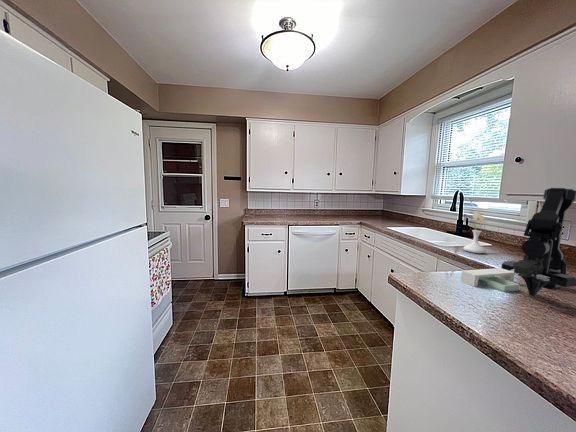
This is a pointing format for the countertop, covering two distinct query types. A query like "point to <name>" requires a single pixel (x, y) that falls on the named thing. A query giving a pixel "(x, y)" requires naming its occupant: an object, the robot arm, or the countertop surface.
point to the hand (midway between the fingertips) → (531, 295)
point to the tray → (500, 284)
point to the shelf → (485, 275)
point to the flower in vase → (476, 236)
